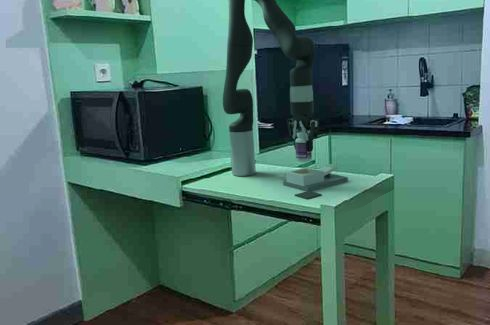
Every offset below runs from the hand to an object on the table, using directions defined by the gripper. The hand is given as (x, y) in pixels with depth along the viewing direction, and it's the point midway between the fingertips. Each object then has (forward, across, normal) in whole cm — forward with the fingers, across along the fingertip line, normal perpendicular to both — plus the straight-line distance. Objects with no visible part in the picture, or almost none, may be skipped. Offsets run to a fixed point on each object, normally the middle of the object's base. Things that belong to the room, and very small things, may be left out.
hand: (303, 150), depth 151 cm
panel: (+12, 0, +4) cm, 13 cm away
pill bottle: (+4, 0, 0) cm, 4 cm away
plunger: (+11, 0, 0) cm, 11 cm away
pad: (+12, +10, -8) cm, 18 cm away
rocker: (+9, 0, +9) cm, 13 cm away
